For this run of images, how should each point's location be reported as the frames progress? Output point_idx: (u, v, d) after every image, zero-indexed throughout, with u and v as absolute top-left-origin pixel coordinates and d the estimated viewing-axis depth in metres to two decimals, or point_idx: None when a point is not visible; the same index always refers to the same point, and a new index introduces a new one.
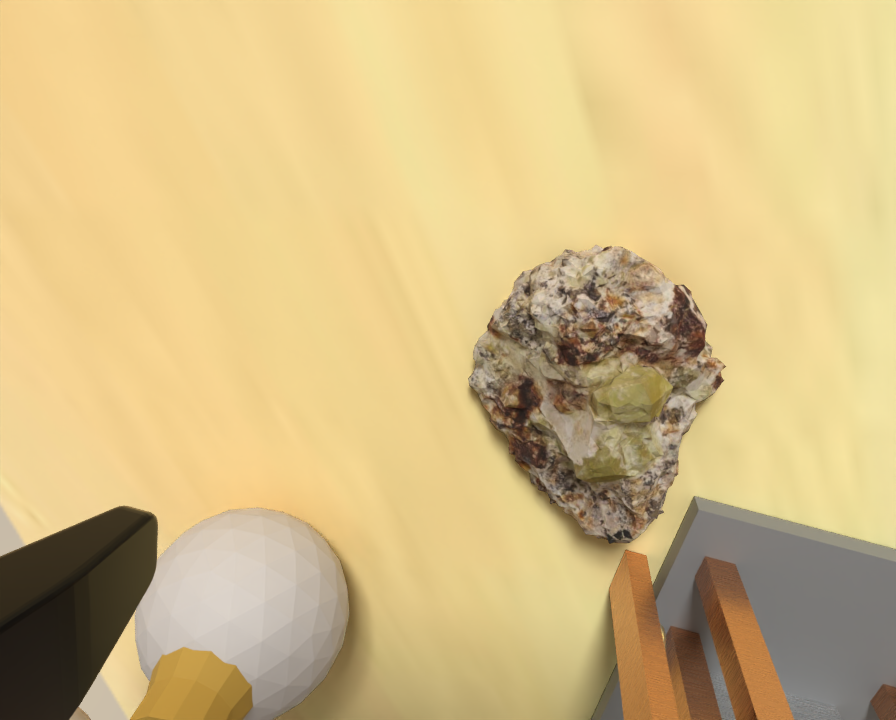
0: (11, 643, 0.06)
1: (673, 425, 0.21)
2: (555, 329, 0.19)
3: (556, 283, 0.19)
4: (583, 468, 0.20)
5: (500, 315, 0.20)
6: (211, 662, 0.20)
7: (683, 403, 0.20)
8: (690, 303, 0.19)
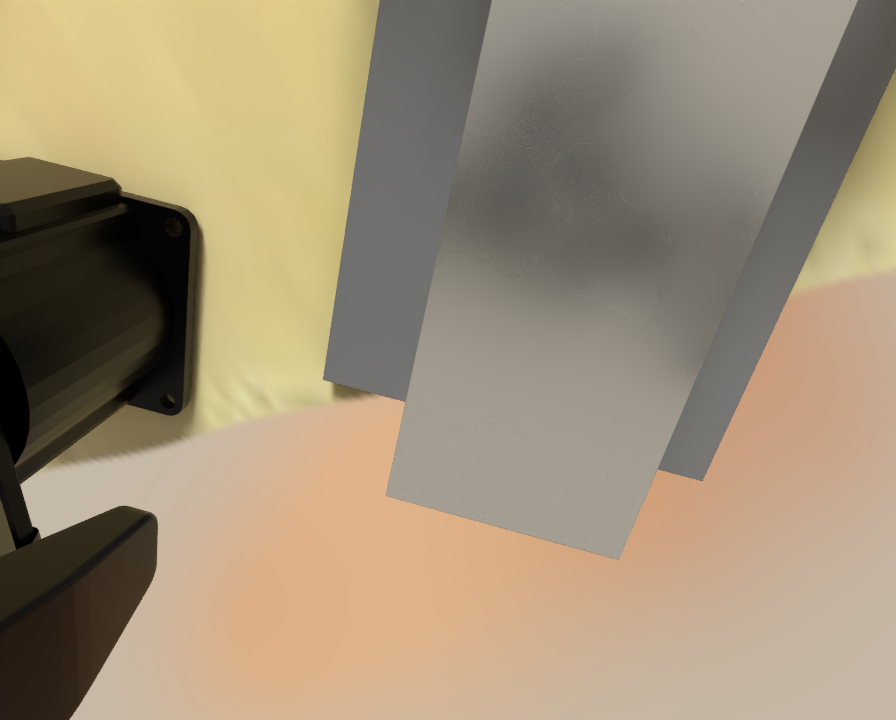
0: (11, 643, 0.06)
1: None
2: None
3: None
4: None
5: None
6: None
7: None
8: None
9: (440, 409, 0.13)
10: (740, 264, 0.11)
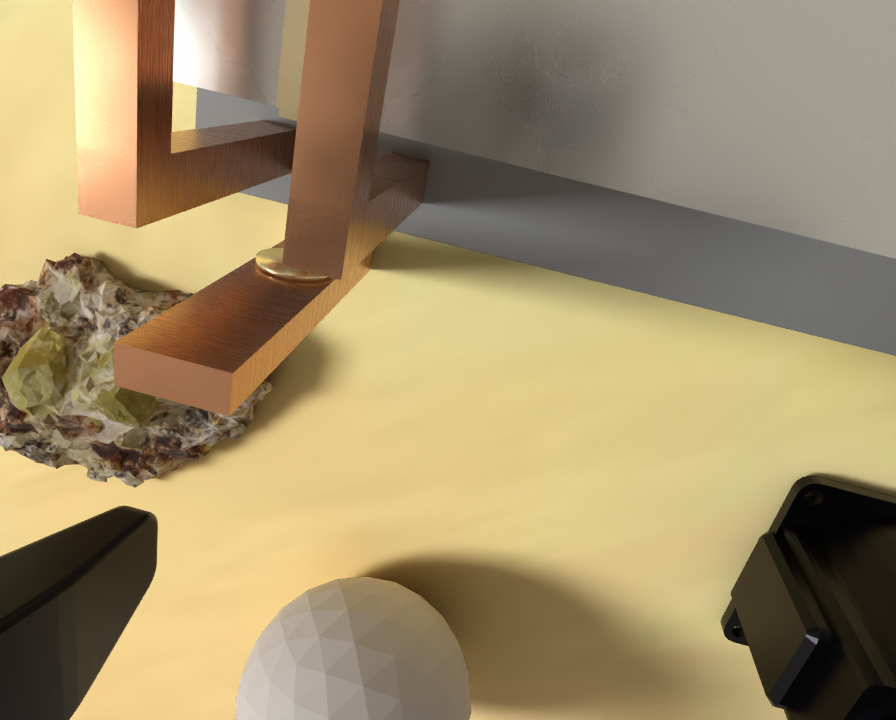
0: (11, 644, 0.06)
1: None
2: (7, 435, 0.20)
3: None
4: (124, 423, 0.19)
5: None
6: None
7: (82, 304, 0.19)
8: None
9: (841, 201, 0.11)
10: None
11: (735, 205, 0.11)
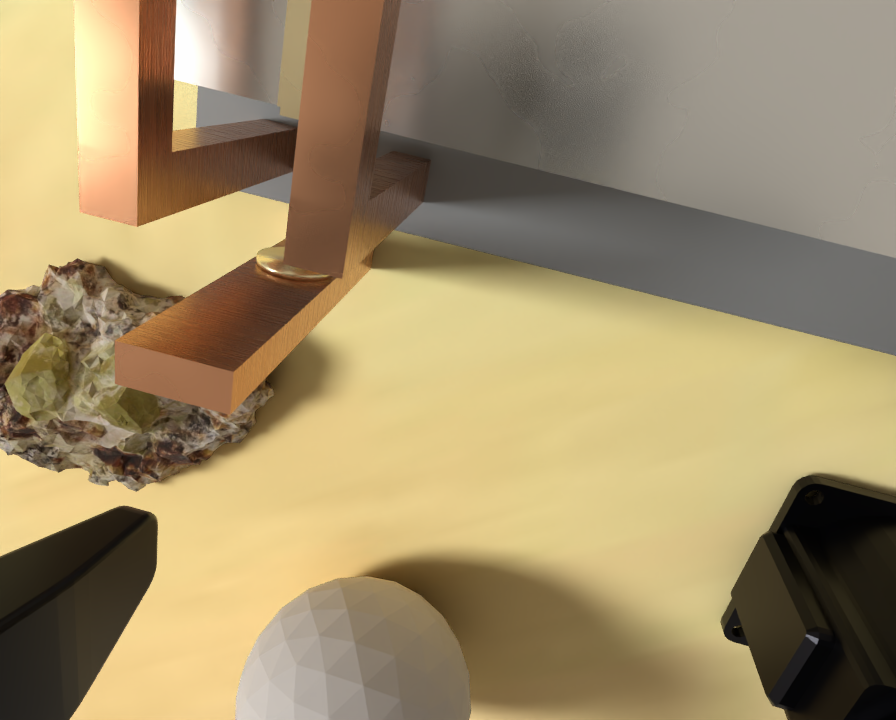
0: (11, 643, 0.06)
1: None
2: (10, 440, 0.20)
3: None
4: (127, 428, 0.19)
5: None
6: None
7: (85, 310, 0.19)
8: None
9: (842, 200, 0.11)
10: None
11: (736, 204, 0.11)
